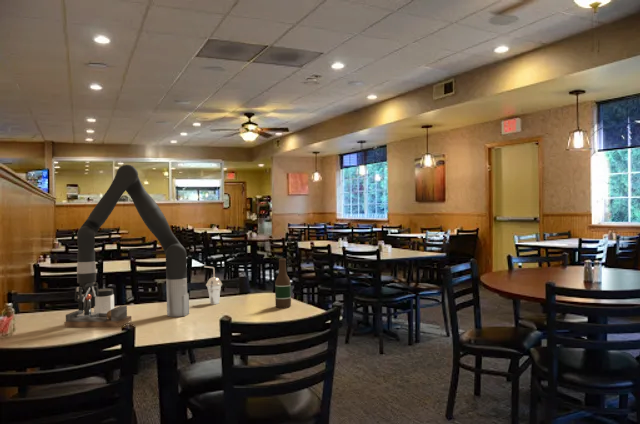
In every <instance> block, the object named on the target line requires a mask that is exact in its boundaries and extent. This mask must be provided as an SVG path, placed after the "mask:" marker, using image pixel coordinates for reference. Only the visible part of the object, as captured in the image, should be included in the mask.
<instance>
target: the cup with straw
mask: <svg viewBox="0 0 640 424" xmlns="http://www.w3.org/2000/svg"><path fill="white" fill-rule="evenodd" d="M203 268H209V269H212V271H213V275H212V276H213V277H210V278H209V279H208V281H207V283H206V284H205V286H206V287H207V291H208V297H209V303H210V305H219V304H220V299H221V298H220V295H221V287H222V286H223V283H222V281H221V280H220V278H219V277H216V273H215V272H216V270H215V267H214V266H208V265H203Z"/></svg>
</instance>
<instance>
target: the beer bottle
mask: <svg viewBox="0 0 640 424" xmlns="http://www.w3.org/2000/svg"><path fill="white" fill-rule="evenodd" d="M291 284H292V283H291V279H290V277H289V276H288V272H287V259H286V258H285V257H283V258H278V273H277V277H276V279H275V283H274V286H275V287H274V288H275V289H274V290H275V292H274V295H275V297H274V298H275V301H274V302H275V307H276V308H277V307H278V309H287V308H290V307H291V306H292V290H291V288H292V287H291Z"/></svg>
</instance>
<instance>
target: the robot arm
mask: <svg viewBox="0 0 640 424" xmlns="http://www.w3.org/2000/svg"><path fill="white" fill-rule="evenodd" d="M125 192H126V193H127V194H128V196H129V198H130V199H131V201H132V203H133V205H134V207H135V210H136V211H137V212H138V215H139V216H140V218H141V220H142V222H143V224H145V226H146V227H147V229H149V231H150V232H151V234H152V235H153V236H154V237H155V238H156V239H157V241H158V242H159V244H160V245H161V248H162V250H163V251H164V254H165V274H166V275H165V277H166V279H165V280H166V314H167V315H166V316H167V317H171V318H178V317H185V315H186V316H187V315H189V314H190V296H189V295H190V293H189V292H188V283H187V282H188V272H187V271H188V269H187V268H188V266H187V265H188V264H187V263H188V261H187V260H188V259H187V257H188V255H187V250H186V248H185V247H184V246H183V244H181V242H180V240H179V239H178V238H177V237H176V235H175V234H174V232H173V231H172V229H171V227H170V224H169V223H168V220H167V218H166V217H165V214H164V213H163V212H162V209H161V208H160V206H159V205H158V203H156V201H155V199H154V198H153V197H152V196H151V195H150V194H149V193H148V191H147V190H146V189H145V187H144V185H143V184H142V181H141V180H140V177H139V173H138V170H137V168H136V167H134V166H133V165H131V164H124V165H122V166H120V167H119V168H118V169H117V170H116V173H115V176H114V178H113V180H112V182H111V184H110V185H109V187H108V189H107V191H105V193H104V194H103V195H102V197H101V198H100V199H99V201H98V202H97V204H96V205H95V206H94V208H93V209H92V210H91V212H90V214H89V215H88V217H87V219H86V220H85V221H84V222H83V224H82V225H81V226H80V227H79V228H78V230H77V233H76V241H77V259H76V260H77V264H76V279H77V280H76V282H77V284H79V286H76V287H75V288H74V302H77V303H78V307H77V308H78V310H79V311H83V310H84V300H85V298H86V297H87V295H88V294H90V295H91V296H92V298H91V308H94V306H95V298H96V296H98V289H99V284H98V283H99V282H96V281H97V265H96V252H95V251H96V249H95V240H96V235H97V233H98V232H99V230H100V228H101V227H102V226H103V224H105V222H106V221H107V219H108V218H109V217H110V216H111V214H112V212H113V211H114V209H115V208H116V207H117V204H118V202H119V200H120V199H121V197H122V195H124V193H125ZM95 291H96V292H95Z"/></svg>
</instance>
